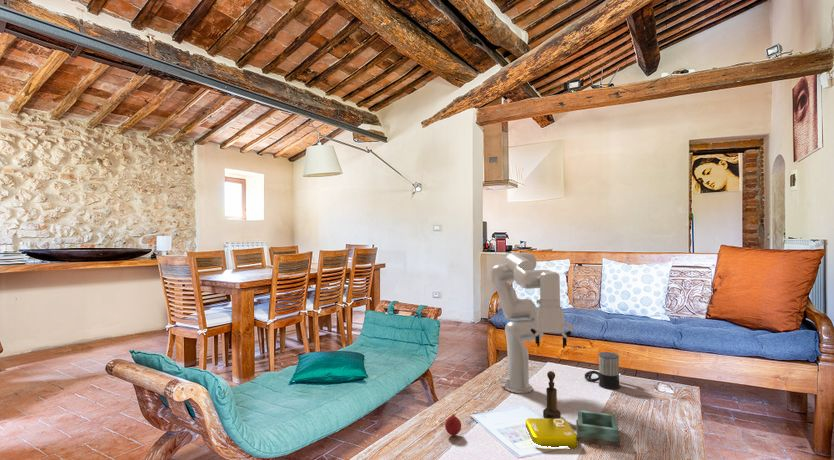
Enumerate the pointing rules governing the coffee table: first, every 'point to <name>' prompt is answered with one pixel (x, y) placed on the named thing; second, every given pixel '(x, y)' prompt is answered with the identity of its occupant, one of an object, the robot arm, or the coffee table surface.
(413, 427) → the coffee table surface
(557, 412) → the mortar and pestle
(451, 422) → the onion
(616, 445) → the green square tray
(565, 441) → the element tile
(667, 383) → the coffee table surface
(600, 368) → the milk frother
